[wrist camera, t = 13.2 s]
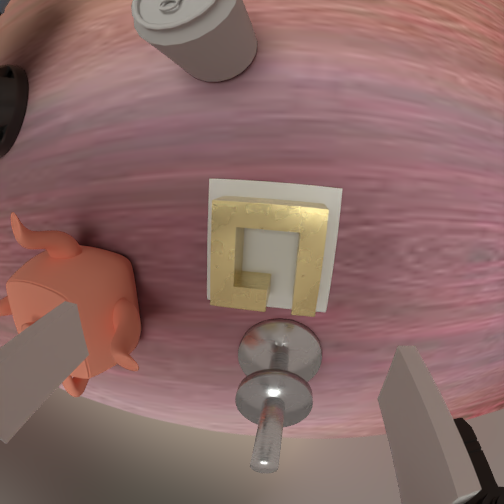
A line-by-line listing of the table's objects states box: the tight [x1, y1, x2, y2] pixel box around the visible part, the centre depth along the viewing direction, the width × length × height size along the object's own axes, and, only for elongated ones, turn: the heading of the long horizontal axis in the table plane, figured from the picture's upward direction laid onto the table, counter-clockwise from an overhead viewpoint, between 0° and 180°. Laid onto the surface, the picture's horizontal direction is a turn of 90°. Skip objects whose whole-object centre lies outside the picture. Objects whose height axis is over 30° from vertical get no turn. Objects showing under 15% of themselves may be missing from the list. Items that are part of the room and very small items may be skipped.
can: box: [132, 0, 257, 82], centre depth 17 cm, size 8×8×12 cm
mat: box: [207, 178, 342, 312], centre depth 27 cm, size 12×12×1 cm
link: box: [210, 196, 329, 317], centre depth 25 cm, size 9×9×4 cm
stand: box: [235, 319, 322, 473], centre depth 24 cm, size 9×9×15 cm
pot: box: [0, 212, 141, 397], centre depth 27 cm, size 18×17×12 cm
